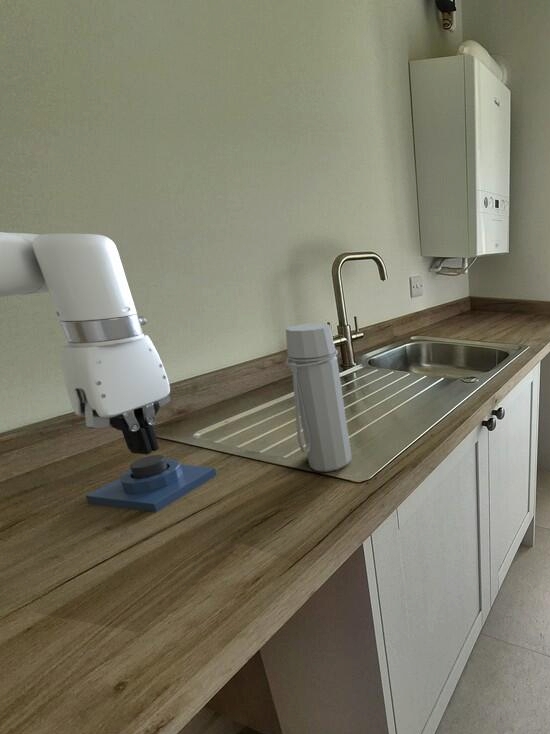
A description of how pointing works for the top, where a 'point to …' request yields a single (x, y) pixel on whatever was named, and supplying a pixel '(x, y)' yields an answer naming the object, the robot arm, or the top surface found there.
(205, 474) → the blue base plate
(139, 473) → the dark grey round knob
